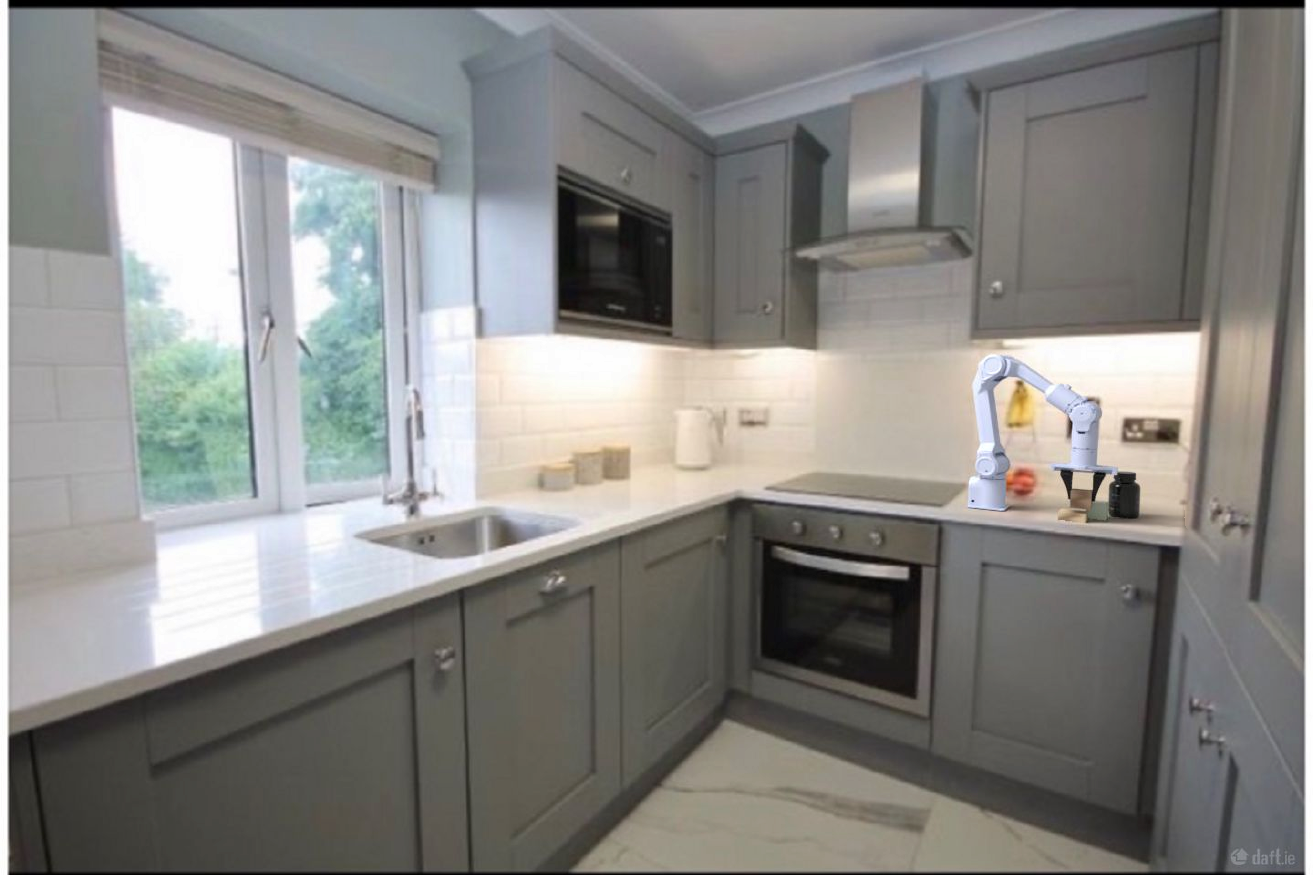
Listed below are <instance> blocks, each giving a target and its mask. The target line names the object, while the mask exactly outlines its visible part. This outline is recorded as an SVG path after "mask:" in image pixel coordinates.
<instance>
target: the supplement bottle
mask: <svg viewBox="0 0 1313 875" xmlns="http://www.w3.org/2000/svg"><path fill="white" fill-rule="evenodd" d="M1113 479H1114V480H1113V481H1111V482H1110V483H1109V484H1108V499H1107V500H1108V501H1107V502H1108V516H1110V517H1113V518H1116V517H1118V519H1125V518H1127V519H1130V520H1131V519H1138V518H1139V517H1140V510H1141V509H1140V508H1141V486H1140V484H1139V483H1138V482H1136V481H1137V473H1136V472H1133V471H1118V474H1117V475H1113Z"/></svg>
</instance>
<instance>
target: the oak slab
mask: <svg viewBox="0 0 1313 875" xmlns="http://www.w3.org/2000/svg"><path fill="white" fill-rule="evenodd" d="M1087 518H1088V511H1086V510H1081V509H1079V510H1077V509H1072V508H1071V509H1069V508H1060V509H1059V511H1058V512H1057V521H1060V520H1065V521H1064V522H1070V521H1072V522H1071V523H1082V524H1086V522H1087V521H1088V519H1087Z"/></svg>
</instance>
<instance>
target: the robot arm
mask: <svg viewBox="0 0 1313 875" xmlns="http://www.w3.org/2000/svg"><path fill="white" fill-rule="evenodd" d="M1009 377H1010V378H1016V379H1017V378H1018V379H1019V380H1021V381H1023V382H1025V383H1027V384H1028V385H1030V386H1031V387H1033V388H1034V389H1037V390H1038V391H1039V392H1041V393H1043V394H1044V397H1045V402H1046V403H1047V402H1048V403H1049V405H1052V406H1053V407H1054V408H1056V409H1058V410H1059V411H1061V412H1062V413H1063V414H1065V416H1066V415H1067V416H1068V417H1069V419H1070V421H1071V422H1072V426H1071V427H1072V428H1071V442H1070V462H1067V463H1061V462H1050V464H1049V471H1050V472H1055V471H1057V472H1060V473H1059V474H1060V475H1059V476H1060V477H1061V479H1062V481H1063V484H1064V486H1065V490H1066V493H1067V500H1070V496H1071V490H1072V489H1073V479H1074V473H1083V474H1084V473H1085V474H1087V473H1088V474H1093V475H1092V490H1093V491H1092V502H1095V500H1096V499H1097V495H1098V492H1099V489H1100V487H1101V485H1102V483H1103V481H1104V480H1105V478H1106V477H1107V475H1112V476H1114V475H1117V474H1118V472H1119V471H1118V470H1119V469H1118V468H1119V467H1118V466H1109V465H1099V464H1098V446H1099V421H1100V420H1101V419H1102V416H1103V410H1102V407H1101V406H1100V405H1099V404H1097V402H1094V401H1088V399H1089V398H1088V397H1086V396H1082V395H1080V394H1079V393H1077V392H1075V391H1074V390H1072V389H1073V387H1072V386H1071V385H1070V384H1063V383H1057V384H1054V383H1052V382H1051V381H1050V380H1048V379H1047V378H1045V377H1044V376H1043V375H1041V374H1040V373H1038V371H1036V370H1035V369H1033V368H1031V367H1030V366H1029V365H1027V364H1026V363H1025V362H1023V361H1022V360H1020V359H1016V358H1015V357H1013V356H1012V355H1009V354H995V353H993V354H988V355H987V356H985V358H983V359H982V360H981V361H980V362H979V363H978V367H977V371H976V374H975V376H974V379H973V381H972V387H971V389H972V396H973V402H974V410H975V417H976V426H977V432H978V439H979V447H978V449H977V451H976V460H975V463H974V469H975V472H976V473H977V474H978V475H977V476H976V475H975V476H974V475H973V476H970V478H969V480H968V495H967V498H968V499H967V506H966V507H967V508H972V509H981V510H990V511H991V510H992V511H1000V512H1005V511H1006V510H1007V509H1008V508H1010V505H1009V504H1006V500H1007V499H1006V496H1007V495H1006V494H1007V493H1006V492H1007V475H1006V473H1007V472H1008V471H1009V470H1010V467H1011V460H1010V459H1009V457H1008V456H1007V454H1006V449H1005V448H1004V446H1003V445H1002V443H1001V437H1000V428H999V422H998V415H997V414H998V413H997V408H996V400H995V392H994V389H995V388H996V387H997V386H998V385H999V384H1001V382H1002V381H1004V380H1005V379H1007V378H1009ZM1096 501H1097V500H1096Z"/></svg>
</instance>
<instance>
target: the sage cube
mask: <svg viewBox="0 0 1313 875" xmlns="http://www.w3.org/2000/svg"><path fill="white" fill-rule="evenodd" d="M1085 511H1088V518H1089V519H1088V520H1093V519H1097V520H1096V521H1102V520H1104V521H1103V522H1106V521H1107V520H1106V519H1108V516H1109V514H1108V501H1106V500H1105V501H1104V500H1095V502H1093V505H1092V508H1091V510H1089V509H1085Z"/></svg>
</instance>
